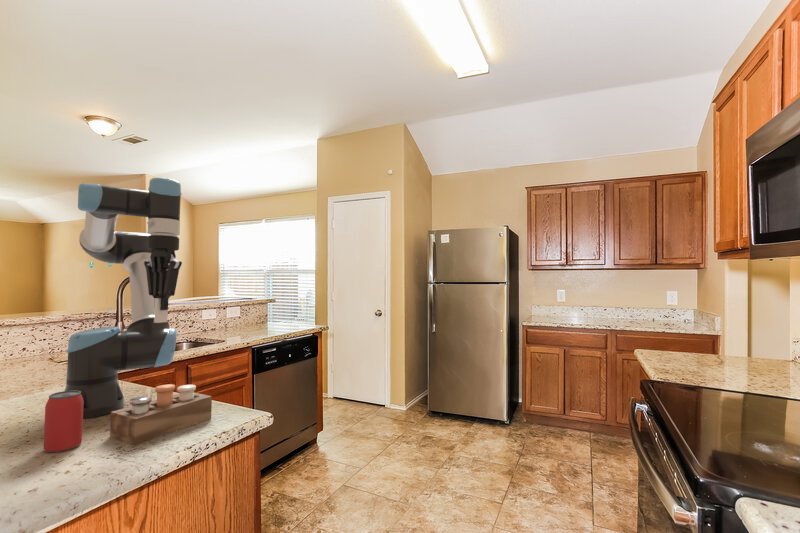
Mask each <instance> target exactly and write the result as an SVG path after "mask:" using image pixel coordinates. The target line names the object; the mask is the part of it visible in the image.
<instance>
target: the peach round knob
mask: <svg viewBox="0 0 800 533" xmlns="http://www.w3.org/2000/svg"><path fill="white" fill-rule="evenodd" d="M154 388H155V391H154V392H156V400H157V406H156V407H160V408H162V407H166V406H169V405H173V395H174V390H176V385H175V384H171V383H169V384H168V383H166V384H161V385H157V386H155V387H154Z"/></svg>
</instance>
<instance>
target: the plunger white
mask: <svg viewBox="0 0 800 533" xmlns="http://www.w3.org/2000/svg"><path fill="white" fill-rule="evenodd" d="M196 390H197V385H195V384H183V385H180V386H178V387H177V392H178V394H179V400H181V401H186V400H190V399H193V398H194V393H195V391H196Z"/></svg>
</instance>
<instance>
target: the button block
mask: <svg viewBox="0 0 800 533" xmlns="http://www.w3.org/2000/svg"><path fill="white" fill-rule="evenodd" d="M212 402H213V397H212V396H211V395H208V394H204V393H197V392H194V398H193V399H190V400H186V401H181V400H179V393H176V394H173V405H169V406H166V407H162V408H160V407H156V406H157V399H154V400H152V401H151V402H150V406H149V412H145V413H142V414H138V415H134V414H132V405H130V406H129V407H124V408H121V409H119V410H116V411H113V412H111V413H110V424H109V426H110V427H109V438H111V439H114V440H117V441H121V442H123V443H126V444H129V445H132V446H138V445H140V444H143V443H146V442H148V441H149V442H150V441H151V440H155V439H156V438H160V437H163V436H165V435H168V434H172V433H174V432H177V431H179V429H180V430H183V429H185V428H188V427H191V426H193V425H194V426H195V425H196V424H200V423H202V422H204V421H207V420H210V419H212ZM182 428H183V429H182ZM176 430H177V431H176Z"/></svg>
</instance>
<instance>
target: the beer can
mask: <svg viewBox="0 0 800 533" xmlns="http://www.w3.org/2000/svg"><path fill="white" fill-rule="evenodd" d="M45 403H46V404H45V406H44V424H43V426H44V427H43V429H44V430H43V445H42V446H43V447H42V448H43V450H44V452H46V453H61V452H62V453H63V452H66V451H69V450H73V449H75V448H76V447H79V446H80V445H81V444H82V442H83V426H84V425H83V422H84V419H83V403H84V401H83V397H82V395H81V392H80V391H77V390H71V391H65V390H63V391H58V392H55V393H52V394H50V395H49V396H48V399H47V401H46V402H45Z"/></svg>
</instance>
